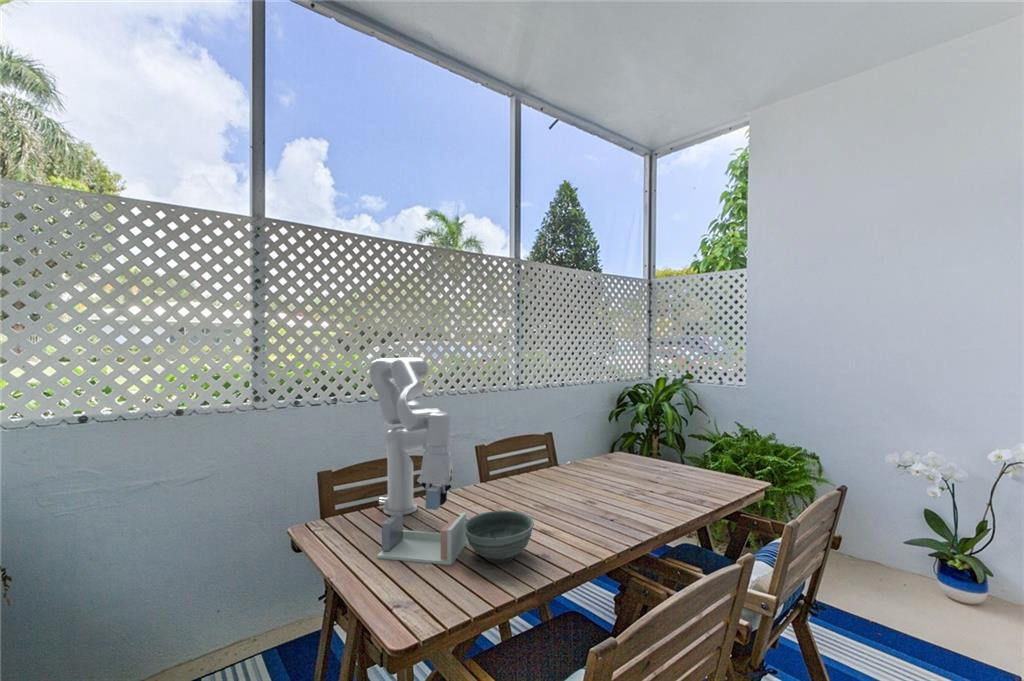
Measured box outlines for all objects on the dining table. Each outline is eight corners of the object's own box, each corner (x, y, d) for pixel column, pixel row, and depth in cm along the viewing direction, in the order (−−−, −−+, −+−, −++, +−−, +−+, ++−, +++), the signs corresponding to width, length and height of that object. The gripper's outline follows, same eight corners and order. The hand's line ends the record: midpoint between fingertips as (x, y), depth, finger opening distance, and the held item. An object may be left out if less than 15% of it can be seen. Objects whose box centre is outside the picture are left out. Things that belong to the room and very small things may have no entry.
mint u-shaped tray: (376, 558, 130) (376, 524, 130) (398, 538, 143) (398, 507, 144) (451, 565, 125) (451, 530, 125) (466, 544, 139) (466, 512, 139)
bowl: (544, 567, 123) (544, 531, 124) (471, 578, 117) (470, 540, 118) (521, 537, 143) (521, 506, 144) (458, 546, 137) (457, 513, 138)
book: (425, 508, 145) (426, 490, 145) (435, 498, 154) (436, 481, 154) (436, 509, 144) (437, 491, 144) (446, 500, 153) (447, 482, 153)
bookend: (381, 550, 132) (381, 523, 132) (395, 538, 141) (395, 512, 141) (389, 551, 132) (389, 524, 132) (402, 538, 140) (402, 513, 141)
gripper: (409, 449, 147) (408, 504, 147) (457, 453, 144) (456, 509, 144) (419, 444, 154) (417, 496, 155) (464, 448, 151) (463, 501, 151)
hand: (436, 502), depth 149 cm, fingers closed on book, 4 cm apart
